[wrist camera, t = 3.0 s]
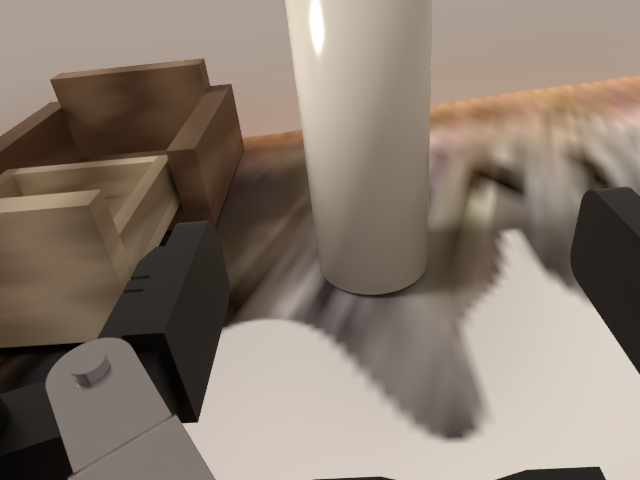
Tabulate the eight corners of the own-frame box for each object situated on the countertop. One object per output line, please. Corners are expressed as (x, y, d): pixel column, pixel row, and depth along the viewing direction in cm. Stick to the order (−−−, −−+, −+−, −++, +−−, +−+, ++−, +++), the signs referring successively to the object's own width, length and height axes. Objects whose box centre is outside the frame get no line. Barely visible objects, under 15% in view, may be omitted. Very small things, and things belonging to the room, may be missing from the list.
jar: (314, 301, 23) (257, -95, 14) (316, 233, 28) (275, -93, 19) (441, 292, 22) (457, -121, 14) (421, 225, 27) (425, -112, 19)
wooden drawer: (-109, 355, 22) (-211, 230, 18) (21, 223, 31) (-30, 124, 28) (143, 338, 21) (88, 205, 18) (200, 208, 31) (171, 104, 27)
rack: (-9, 245, 30) (-70, 137, 26) (75, 162, 40) (39, 75, 36) (215, 227, 29) (185, 112, 26) (243, 147, 39) (225, 56, 36)
